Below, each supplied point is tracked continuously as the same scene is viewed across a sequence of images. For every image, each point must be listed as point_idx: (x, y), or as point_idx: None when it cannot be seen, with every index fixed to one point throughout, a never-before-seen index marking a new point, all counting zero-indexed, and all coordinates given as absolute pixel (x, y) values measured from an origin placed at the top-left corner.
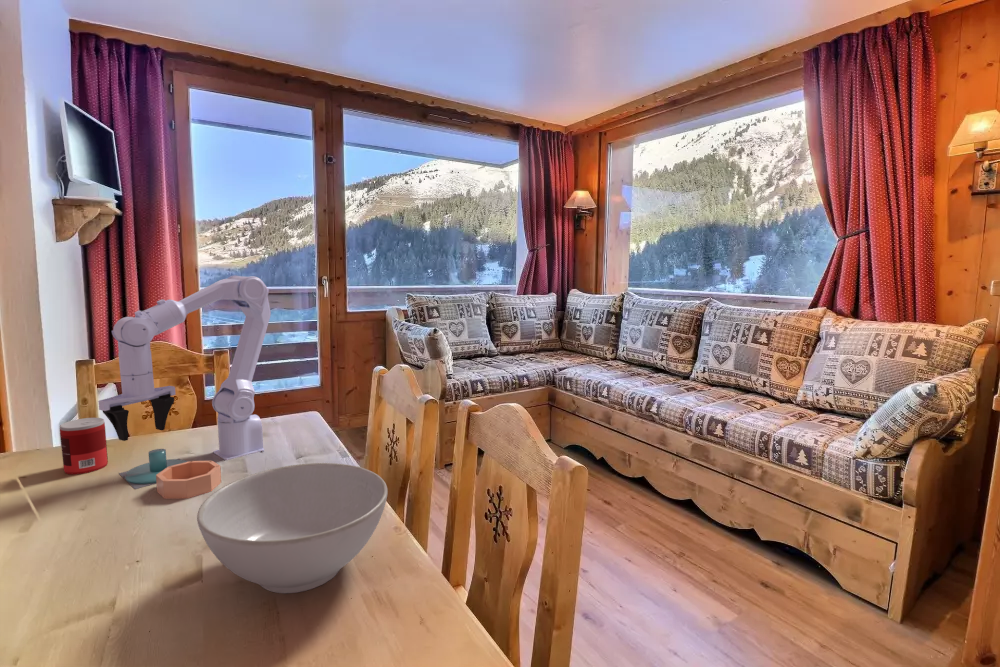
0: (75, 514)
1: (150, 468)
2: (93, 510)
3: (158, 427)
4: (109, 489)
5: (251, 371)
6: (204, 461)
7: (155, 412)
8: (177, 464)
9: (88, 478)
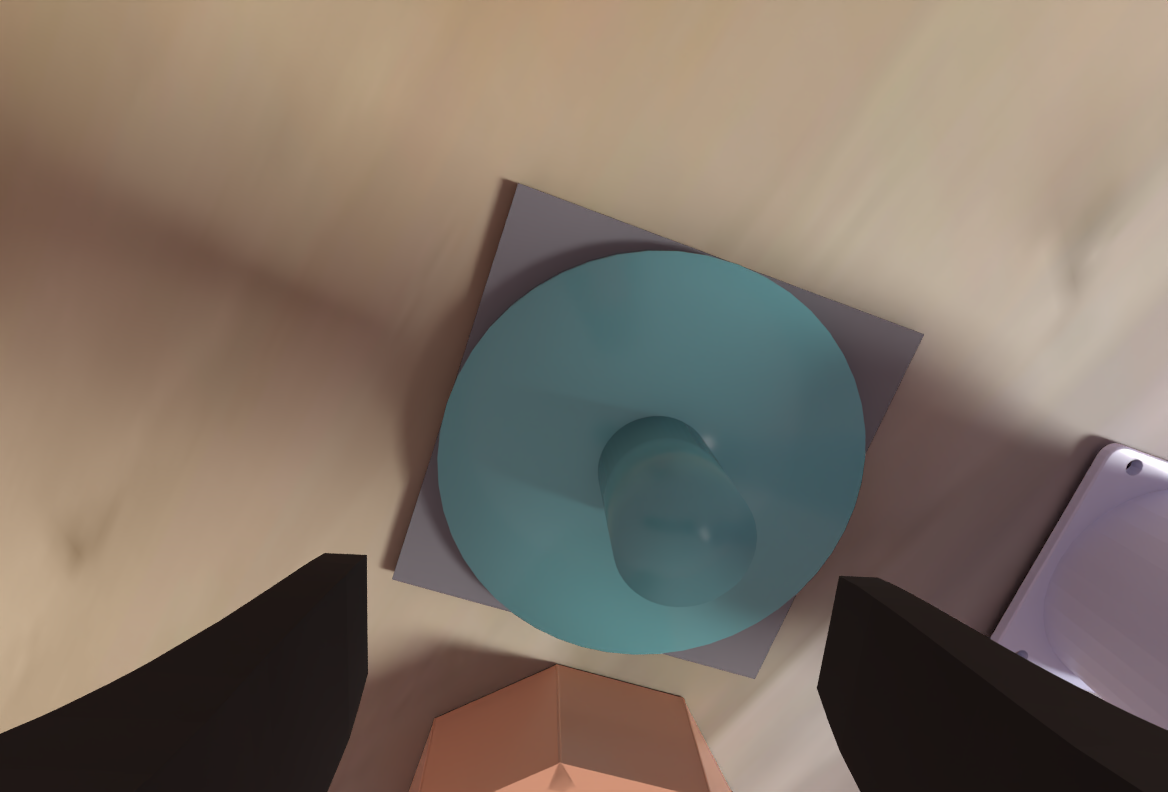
0: (17, 581)
1: (600, 473)
2: (106, 618)
3: (844, 648)
4: (324, 397)
5: None
6: None
7: (1021, 778)
8: (618, 780)
9: (359, 5)
